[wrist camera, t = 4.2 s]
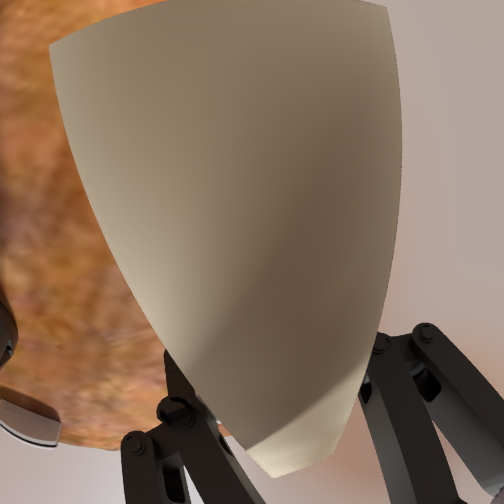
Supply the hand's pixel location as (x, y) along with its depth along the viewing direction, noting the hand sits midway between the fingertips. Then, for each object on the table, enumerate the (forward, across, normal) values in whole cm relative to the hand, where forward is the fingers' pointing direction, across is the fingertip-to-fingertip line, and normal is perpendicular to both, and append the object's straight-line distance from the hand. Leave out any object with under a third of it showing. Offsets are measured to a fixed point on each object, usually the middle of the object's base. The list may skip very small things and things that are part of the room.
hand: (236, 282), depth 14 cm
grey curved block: (+16, -54, -33) cm, 65 cm away
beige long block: (-3, 0, 0) cm, 3 cm away
